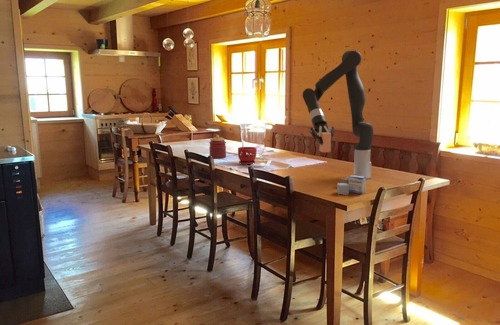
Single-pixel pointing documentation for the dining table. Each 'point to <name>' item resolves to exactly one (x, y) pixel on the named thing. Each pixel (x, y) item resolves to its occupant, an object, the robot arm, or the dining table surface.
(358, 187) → the medicine box
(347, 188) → the slate blue cube
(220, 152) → the canister
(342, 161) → the dining table surface
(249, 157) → the plant pot
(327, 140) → the terracotta block
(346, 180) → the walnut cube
